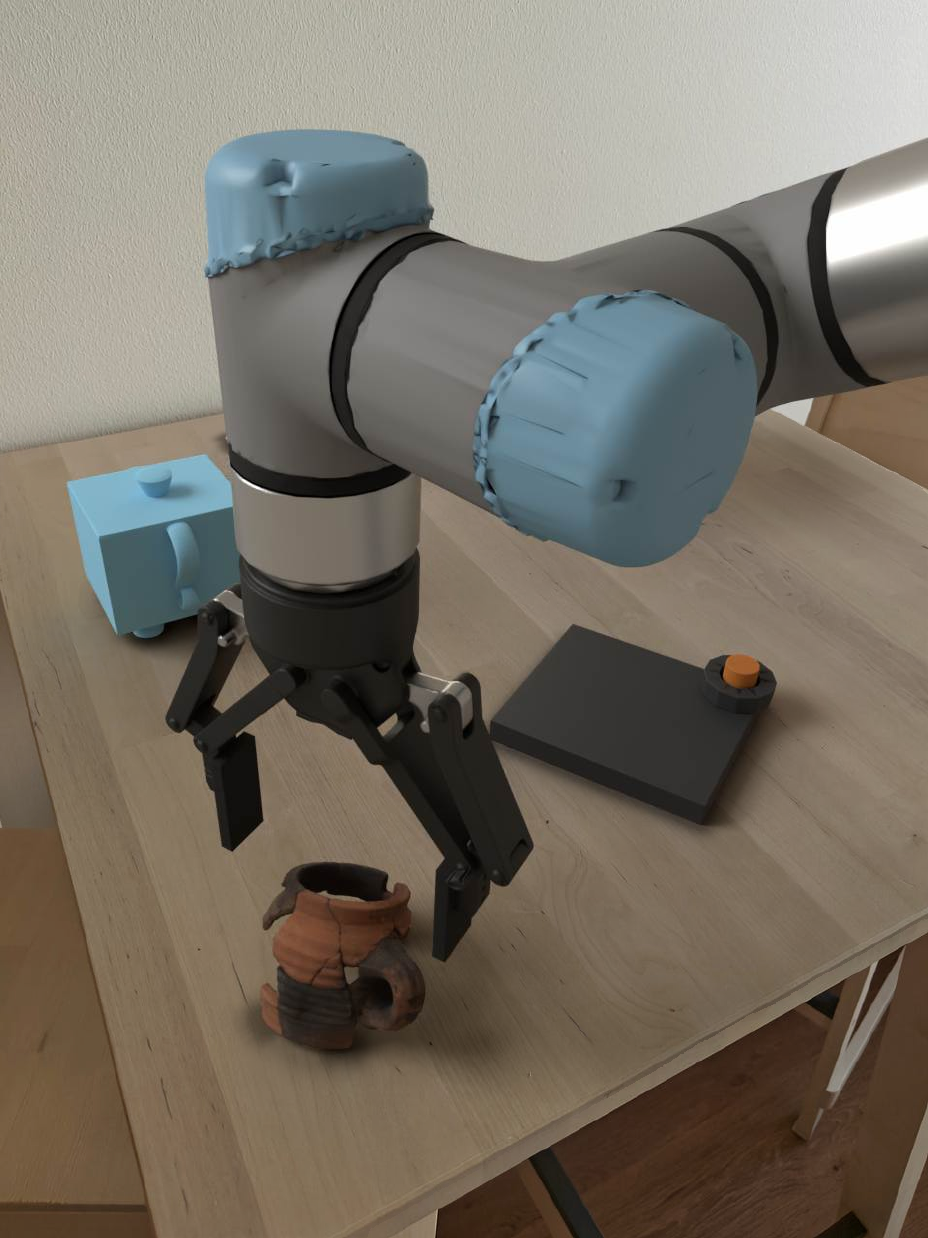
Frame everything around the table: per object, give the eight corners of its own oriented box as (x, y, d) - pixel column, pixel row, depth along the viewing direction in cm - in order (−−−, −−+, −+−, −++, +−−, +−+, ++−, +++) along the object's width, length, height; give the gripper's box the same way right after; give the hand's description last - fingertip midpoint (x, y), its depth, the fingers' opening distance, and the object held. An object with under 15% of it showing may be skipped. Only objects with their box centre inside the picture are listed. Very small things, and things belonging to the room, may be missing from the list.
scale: (774, 702, 82) (784, 669, 80) (711, 829, 71) (720, 793, 69) (576, 633, 89) (580, 601, 87) (488, 738, 77) (491, 703, 75)
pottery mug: (216, 1004, 58) (236, 867, 58) (338, 967, 66) (357, 845, 65) (355, 1106, 51) (380, 949, 50) (476, 1052, 58) (500, 914, 57)
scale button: (760, 676, 80) (764, 660, 79) (750, 694, 78) (754, 678, 77) (728, 665, 81) (732, 650, 80) (718, 682, 79) (721, 667, 78)
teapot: (129, 668, 83) (103, 531, 75) (82, 576, 94) (55, 449, 86) (330, 610, 91) (324, 481, 83) (265, 532, 101) (255, 412, 94)
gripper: (644, 597, 40) (583, 937, 52) (166, 437, 49) (210, 757, 62) (564, 701, 34) (516, 1052, 47) (44, 499, 44) (119, 836, 56)
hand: (342, 885), depth 54 cm, fingers open, 13 cm apart
